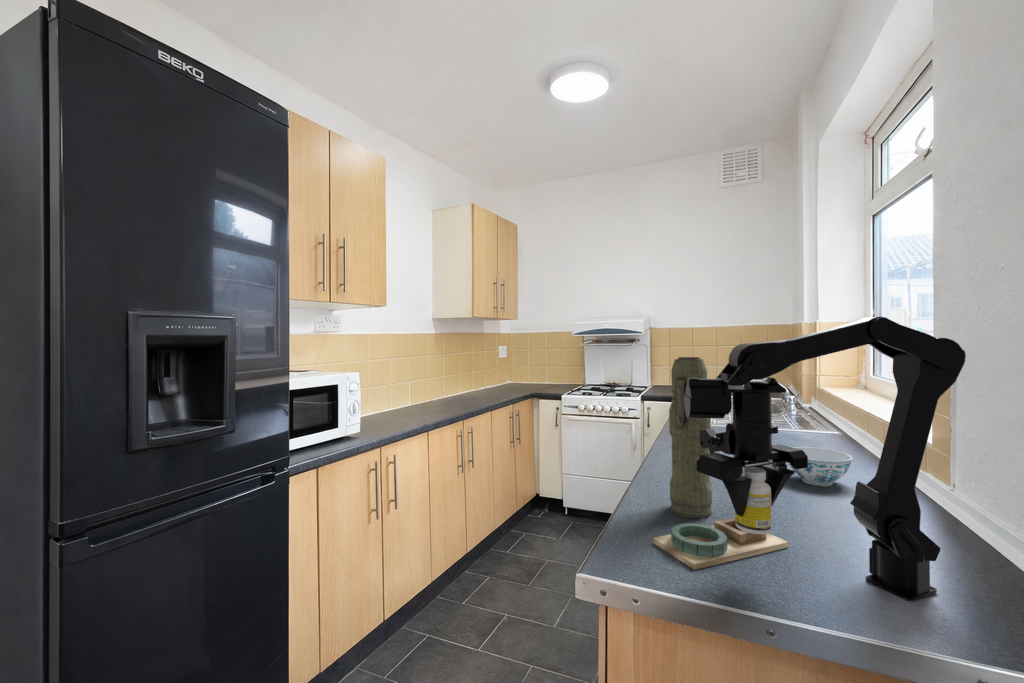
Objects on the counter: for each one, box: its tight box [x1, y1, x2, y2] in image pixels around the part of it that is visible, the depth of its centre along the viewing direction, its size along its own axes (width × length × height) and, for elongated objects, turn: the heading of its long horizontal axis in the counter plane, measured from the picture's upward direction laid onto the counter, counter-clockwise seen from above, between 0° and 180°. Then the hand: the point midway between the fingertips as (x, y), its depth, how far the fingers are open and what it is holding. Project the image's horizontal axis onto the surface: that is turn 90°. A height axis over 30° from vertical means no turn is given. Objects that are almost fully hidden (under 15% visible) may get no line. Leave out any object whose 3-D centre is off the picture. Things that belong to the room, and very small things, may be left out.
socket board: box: [652, 517, 789, 571], centre depth 86 cm, size 11×22×3 cm, turn 110°
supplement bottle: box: [734, 467, 773, 534], centre depth 75 cm, size 5×5×10 cm
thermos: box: [668, 356, 713, 519], centre depth 103 cm, size 9×12×35 cm
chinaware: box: [787, 446, 853, 487], centre depth 121 cm, size 15×15×8 cm
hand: (752, 512), depth 75 cm, fingers closed on supplement bottle, 5 cm apart
